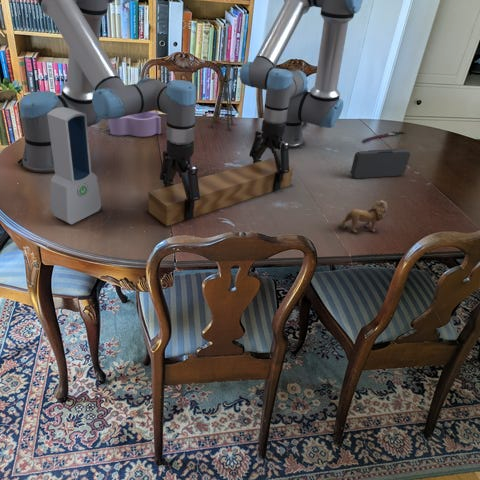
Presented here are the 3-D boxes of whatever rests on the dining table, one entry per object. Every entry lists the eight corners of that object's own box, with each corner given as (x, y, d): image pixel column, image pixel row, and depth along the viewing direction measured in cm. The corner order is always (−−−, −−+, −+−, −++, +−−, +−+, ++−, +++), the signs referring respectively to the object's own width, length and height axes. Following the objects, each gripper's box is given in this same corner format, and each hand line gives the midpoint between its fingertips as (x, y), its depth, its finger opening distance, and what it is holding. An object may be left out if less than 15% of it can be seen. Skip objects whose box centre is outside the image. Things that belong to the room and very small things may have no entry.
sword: (401, 130, 224) (401, 128, 224) (406, 132, 222) (407, 130, 222) (357, 141, 209) (358, 139, 208) (363, 144, 207) (363, 141, 206)
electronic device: (68, 226, 128) (55, 120, 112) (50, 217, 131) (34, 112, 115) (102, 209, 137) (94, 109, 121) (84, 201, 140) (74, 102, 124)
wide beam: (166, 226, 133) (166, 205, 129) (148, 212, 139) (148, 191, 135) (290, 185, 163) (293, 167, 159) (271, 175, 169) (273, 157, 165)
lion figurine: (375, 222, 146) (382, 196, 141) (385, 230, 142) (393, 204, 137) (334, 226, 141) (341, 200, 136) (343, 236, 137) (350, 209, 132)
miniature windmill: (228, 130, 204) (234, 58, 188) (210, 127, 205) (214, 55, 189) (233, 123, 211) (239, 54, 195) (215, 120, 212) (219, 51, 196)
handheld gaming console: (400, 172, 181) (407, 148, 176) (404, 175, 179) (412, 151, 174) (348, 175, 174) (354, 150, 169) (352, 179, 172) (358, 153, 167)
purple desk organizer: (111, 137, 184) (110, 120, 181) (108, 126, 194) (107, 110, 190) (162, 136, 191) (162, 119, 187) (156, 125, 200) (156, 109, 197)
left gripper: (216, 151, 123) (211, 223, 136) (169, 125, 137) (168, 193, 149) (193, 157, 119) (190, 231, 131) (146, 129, 132) (148, 198, 145)
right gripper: (307, 129, 145) (296, 193, 157) (259, 108, 158) (252, 169, 170) (291, 133, 140) (281, 199, 152) (242, 111, 154) (236, 173, 166)
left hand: (178, 210), depth 140 cm, fingers closed on wide beam, 10 cm apart
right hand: (265, 183), depth 161 cm, fingers closed on wide beam, 10 cm apart
